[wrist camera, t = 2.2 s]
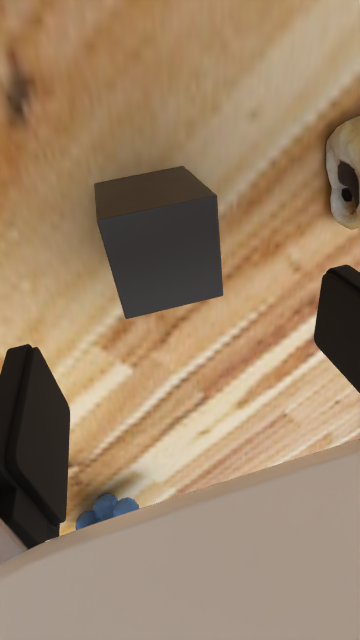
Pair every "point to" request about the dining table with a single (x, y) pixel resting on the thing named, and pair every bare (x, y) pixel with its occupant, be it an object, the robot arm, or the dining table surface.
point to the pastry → (345, 172)
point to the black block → (160, 239)
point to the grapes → (106, 510)
